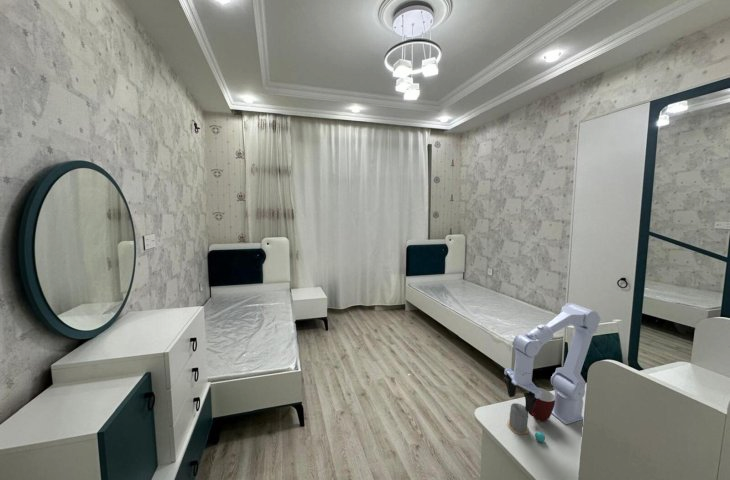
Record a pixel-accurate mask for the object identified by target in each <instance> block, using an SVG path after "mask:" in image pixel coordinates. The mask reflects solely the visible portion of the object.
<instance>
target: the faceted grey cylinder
mask: <svg viewBox="0 0 730 480" xmlns="http://www.w3.org/2000/svg"><path fill="white" fill-rule="evenodd" d="M525 406H526V405H523V404H521V403H517V402H515V403H514V402H513V403H511V405H510V409H509V410H510V411H509V419H510V420H509V419H508V420H509V426H511V427H512V428H513V429H514V430H515V431H518V432H525V431H527V426H528V422H529V412H527V411H526V409H525Z"/></svg>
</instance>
